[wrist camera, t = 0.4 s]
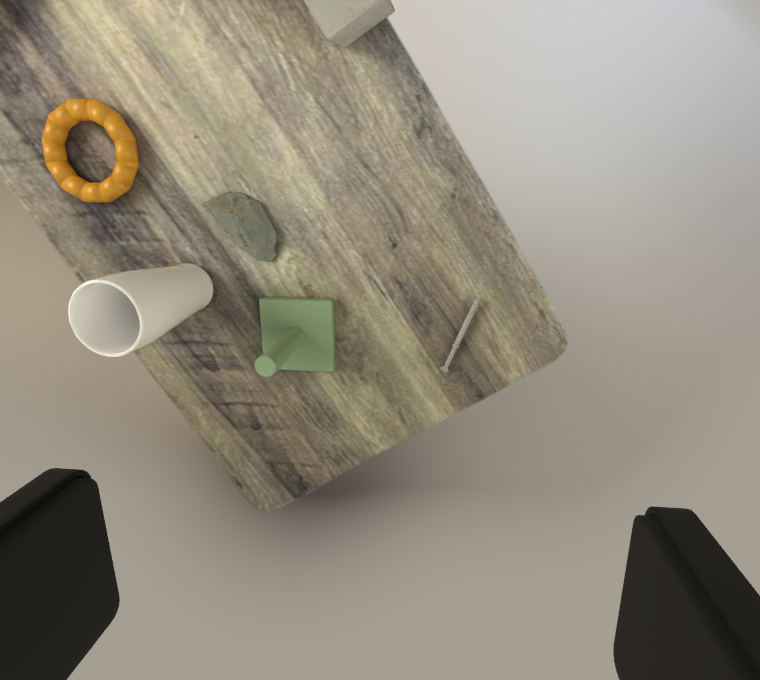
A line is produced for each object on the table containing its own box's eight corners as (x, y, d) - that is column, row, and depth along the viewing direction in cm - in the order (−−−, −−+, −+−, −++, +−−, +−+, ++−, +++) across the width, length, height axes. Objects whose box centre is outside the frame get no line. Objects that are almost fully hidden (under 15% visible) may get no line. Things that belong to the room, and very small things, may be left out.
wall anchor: (440, 366, 54) (440, 369, 53) (473, 295, 51) (474, 297, 50) (448, 369, 54) (448, 373, 53) (482, 299, 51) (483, 301, 50)
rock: (263, 270, 53) (294, 238, 52) (256, 272, 51) (288, 238, 50) (204, 206, 52) (234, 172, 51) (194, 206, 51) (225, 170, 49)
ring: (44, 101, 51) (29, 98, 49) (134, 99, 50) (122, 96, 48) (62, 202, 54) (48, 202, 52) (148, 202, 53) (136, 202, 51)
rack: (262, 296, 54) (218, 322, 44) (334, 298, 53) (306, 325, 43) (267, 365, 56) (226, 405, 46) (335, 368, 56) (310, 410, 45)
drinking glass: (221, 320, 56) (144, 364, 41) (163, 311, 56) (69, 351, 42) (222, 260, 54) (142, 285, 39) (163, 251, 54) (63, 273, 40)
